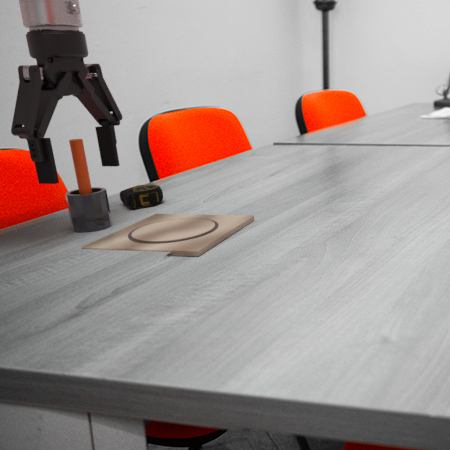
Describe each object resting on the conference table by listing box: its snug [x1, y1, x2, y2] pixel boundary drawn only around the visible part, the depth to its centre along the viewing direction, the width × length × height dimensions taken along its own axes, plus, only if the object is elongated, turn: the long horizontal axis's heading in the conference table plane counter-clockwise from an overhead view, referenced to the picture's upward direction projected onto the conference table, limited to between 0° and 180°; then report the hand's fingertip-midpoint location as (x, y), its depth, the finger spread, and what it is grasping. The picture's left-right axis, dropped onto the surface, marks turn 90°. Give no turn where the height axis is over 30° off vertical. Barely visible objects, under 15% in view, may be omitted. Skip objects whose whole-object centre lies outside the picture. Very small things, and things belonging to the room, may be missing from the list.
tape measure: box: [119, 183, 164, 210], centre depth 105 cm, size 7×7×4 cm
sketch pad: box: [81, 213, 255, 258], centre depth 88 cm, size 18×18×1 cm
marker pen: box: [68, 138, 93, 195], centre depth 89 cm, size 2×2×14 cm
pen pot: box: [64, 186, 113, 234], centre depth 91 cm, size 6×6×6 cm
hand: (82, 174), depth 89 cm, fingers open, 13 cm apart
